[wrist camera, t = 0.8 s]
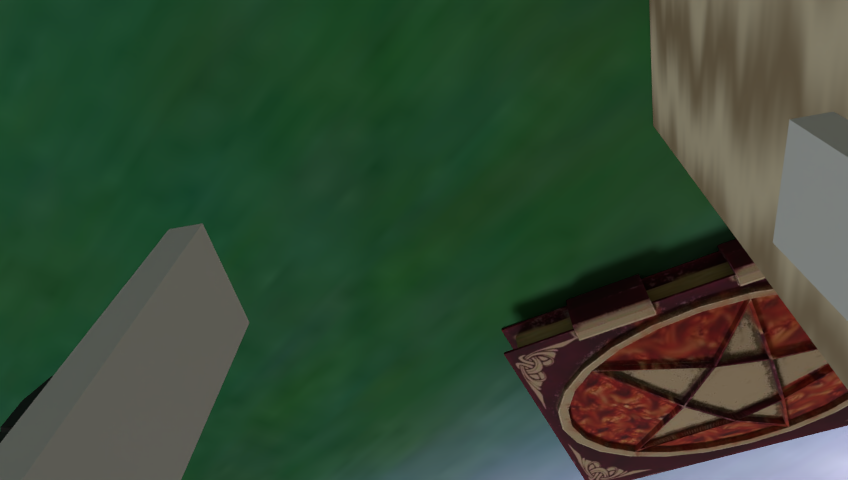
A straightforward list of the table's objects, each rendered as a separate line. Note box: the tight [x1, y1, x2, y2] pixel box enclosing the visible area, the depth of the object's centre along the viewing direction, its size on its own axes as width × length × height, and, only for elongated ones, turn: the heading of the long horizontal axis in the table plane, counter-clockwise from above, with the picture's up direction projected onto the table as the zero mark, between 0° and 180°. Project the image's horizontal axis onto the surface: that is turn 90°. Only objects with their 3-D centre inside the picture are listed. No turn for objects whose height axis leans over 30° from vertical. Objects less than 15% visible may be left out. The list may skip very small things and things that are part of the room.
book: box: [502, 239, 848, 480], centre depth 44 cm, size 28×21×5 cm
